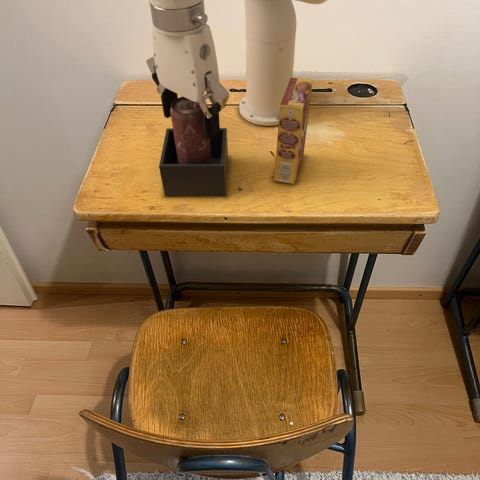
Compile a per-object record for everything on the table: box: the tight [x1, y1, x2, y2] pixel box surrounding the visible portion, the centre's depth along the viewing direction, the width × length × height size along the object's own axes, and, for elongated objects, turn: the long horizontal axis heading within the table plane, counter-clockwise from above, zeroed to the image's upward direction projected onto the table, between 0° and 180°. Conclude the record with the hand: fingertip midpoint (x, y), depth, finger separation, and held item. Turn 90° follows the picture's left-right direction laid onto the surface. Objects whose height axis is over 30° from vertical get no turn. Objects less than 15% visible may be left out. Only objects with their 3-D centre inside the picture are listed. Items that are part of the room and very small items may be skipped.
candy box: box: [273, 77, 314, 185], centre depth 82 cm, size 9×4×15 cm, turn 165°
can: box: [170, 96, 212, 164], centre depth 82 cm, size 6×6×14 cm
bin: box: [158, 127, 229, 197], centre depth 85 cm, size 11×11×7 cm
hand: (191, 124), depth 79 cm, fingers open, 9 cm apart
